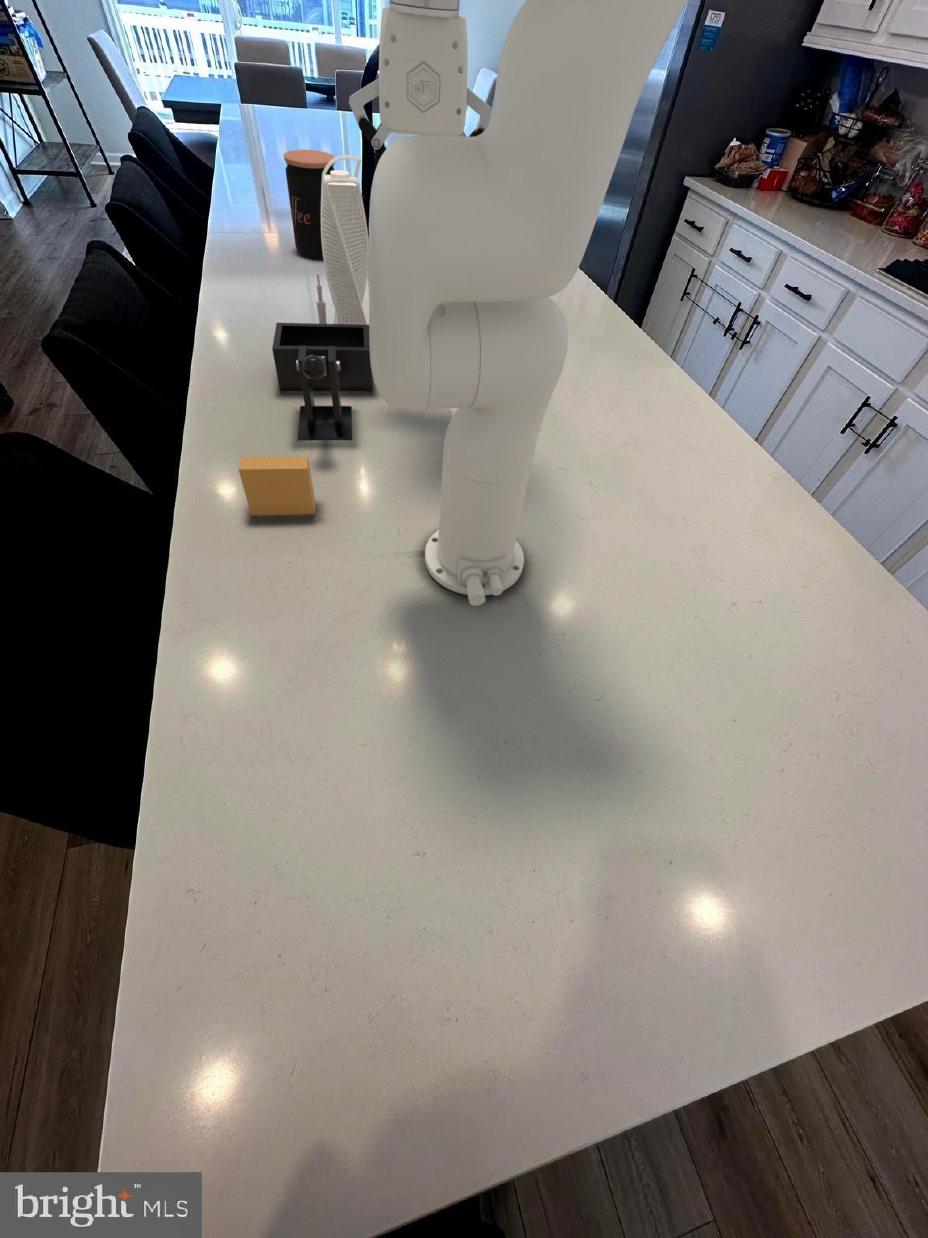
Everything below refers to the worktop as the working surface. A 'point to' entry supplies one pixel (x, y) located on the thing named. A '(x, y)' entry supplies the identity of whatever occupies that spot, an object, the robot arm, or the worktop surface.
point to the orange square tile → (277, 485)
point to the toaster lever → (315, 367)
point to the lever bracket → (323, 418)
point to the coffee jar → (306, 198)
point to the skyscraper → (343, 245)
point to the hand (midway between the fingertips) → (421, 189)
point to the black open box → (324, 354)
